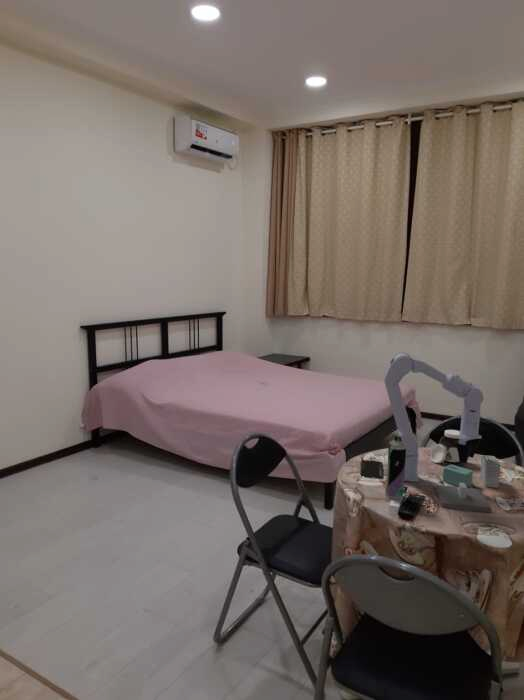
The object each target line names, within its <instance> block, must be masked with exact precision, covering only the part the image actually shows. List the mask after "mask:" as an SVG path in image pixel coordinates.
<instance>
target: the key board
mask: <svg viewBox="0 0 524 700" xmlns="http://www.w3.org/2000/svg"><path fill="white" fill-rule="evenodd" d="M435 491H436V494H437V497H438V500H439V503H440V505H441V508H445V509H455V510H464V511H473V512H474V511H475V512H480V513H481V512H483V513H491V509H492V508H491V505H490V504H489V501H488V500H487V498H486V496H485V494H484V492H483V491H482V489H481V488H472V487H466V485H465V483H459V487H457V486H454V485H443V484H441V485H440V484H436V485H435Z"/></svg>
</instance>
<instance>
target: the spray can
mask: <svg viewBox="0 0 524 700" xmlns="http://www.w3.org/2000/svg"><path fill="white" fill-rule="evenodd" d="M405 459H406V443H404V442H403V441H402V440H401V436H399V435H395V436H394V438H393V439H392V440H391V441H389V442H388V450H387V465H386V478H385V479H386V481H385V496H386V497H387V498H388V499H392V500H401V498H402V497H403V498H404V488H405V487H404V485H405V481H404V474H405ZM403 498H402V499H403Z"/></svg>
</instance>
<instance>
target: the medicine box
mask: <svg viewBox="0 0 524 700" xmlns="http://www.w3.org/2000/svg"><path fill="white" fill-rule="evenodd" d="M500 474H501V463H500V461H499V460H498V459H497V457H496V456H494V455H482V456H481V463H480V475H479V477H480V478H479V479H480V480H481V482H482V483H483V485H484V486H485V487H486V488H493V489H494V488H495V489H499V488H500V487H499V486H500Z"/></svg>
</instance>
